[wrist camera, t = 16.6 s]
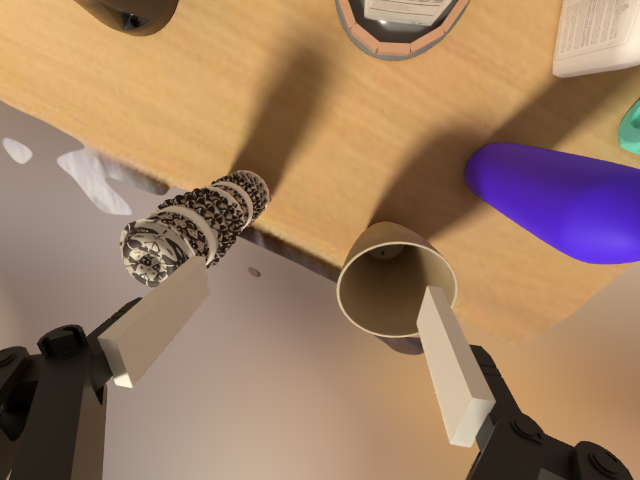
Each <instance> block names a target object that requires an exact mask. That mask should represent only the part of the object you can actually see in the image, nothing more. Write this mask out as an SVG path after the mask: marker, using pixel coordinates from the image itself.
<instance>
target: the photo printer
mask: <svg viewBox="0 0 640 480" xmlns="http://www.w3.org/2000/svg"><path fill="white" fill-rule="evenodd" d="M638 65H640V0H563V5H562V10H561V15H560V21H559V27H558V33H557V39H556V45H555V51H554V58H553V70H552V72H553V75H556V76H558V77H560V78H567V77H574V76H581V75H587V74H594V73H601V72H607V71H613V70H620V69H626V68H631V67H634V66H638Z"/></svg>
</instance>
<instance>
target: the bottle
mask: <svg viewBox="0 0 640 480" xmlns="http://www.w3.org/2000/svg"><path fill="white" fill-rule="evenodd" d="M465 181H466V183H467V185H468V187H469V188H470V189H471V190H472V191H473V192H474V193H475V194H476V195H477V196H479V197H480V198H481V199H483V200H484V201H485V202H487V203H488V204H490V205H491V206H492V207H494V208H495V209H497V210H498V211H499V212H501V213H502V214H504V215H505V216H507V217H508V218H510V219H511V220H513V221H514V222H515V223H517V224H518V225H520V226H521V227H523V228H524V229H526V230H527V231H529V232H530V233H532V234H534V235H535V236H537V237H538V238H540V239H541V240H543V241H544V242H546V243H548V244H549V245H551V246H552V247H554V248H556V249H557V250H559V251H561V252H563V253H565V254H566V255H568V256H570V257H572V258H575V259H577V260H580V261H583V262H587V263H592V264H622V263H630V262H636V261H640V169H637V168H633V167H629V166H625V165H621V164H617V163H613V162H608V161H604V160H599V159H594V158H589V157H585V156H580V155H575V154H570V153H565V152H559V151H554V150H549V149H543V148H538V147H532V146H526V145H520V144H513V143H493V144H489V145H486V146H484V147H482V148H481V149H479V150H478V151H477V152H475V153H474V154H473V156H472V157H471V158H470V160H469V161H468V163H467V165H466V169H465Z"/></svg>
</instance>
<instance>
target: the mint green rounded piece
mask: <svg viewBox="0 0 640 480" xmlns="http://www.w3.org/2000/svg"><path fill="white" fill-rule="evenodd" d="M618 139H619V144H620V146H621V147H622V148H623V149H625V150H628V151H630V152H633V153H635V154H638V155H640V100H639V101H638V102H637V103H636V104H635V105H634V106H633V107H632V108H631V109H630V110H629V111H628V112H627V114H626V115H625V117H624V118H623V120H622V122H621V125H620V128H619V134H618Z"/></svg>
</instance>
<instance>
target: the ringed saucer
mask: <svg viewBox="0 0 640 480" xmlns="http://www.w3.org/2000/svg"><path fill="white" fill-rule="evenodd" d="M335 2H336V7H337V12H338V15H339V18H340V21H341V23H342V25H343V28H344V30H345V31H346V33H347V35H348V36H349V38H350V39H351V40H352V41H353V43H354V44H355V45H356V46H357V47H358V48H360V49H361V50H362V51H364V52H365V53H366V54H368V55H370V56H372V57H374V58H378V59H381V60H387V61H400V60H406V59H410V58H413V57H416V56H418V55H420V54H422V53H424V52H426V51H427V50H429V49H430V48H432V47H433V46H435V45H436V44H437V43H438V42H439V41H441V40H442V39H443V38H444V37H445V36H446V35H447V34H448V33H449V32H450V30H451V29H452V28H453V27H454V25H455V24H456V23H457V21H458V20H459V18H460V17H461V15H462V14H463V12H464V10H465V8H466V6H467V4H468V2H469V0H452V1H451V2H450V4H449V5H448V6H447V7H446V8H445V10H444V11H443V12H442V13H441V14H440V15H439V17H438V18H437V19H436V20H435V21H434V23H433V24H432V25H431V26H426V25H417V24H407V23H398V22H389V21H380V20H371V19H365V18H364V9H365V0H335Z"/></svg>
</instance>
